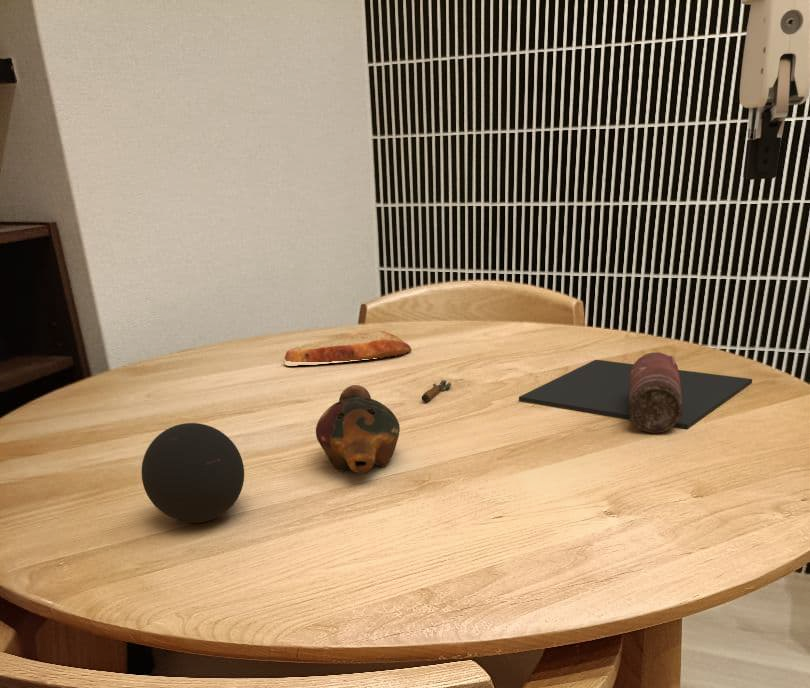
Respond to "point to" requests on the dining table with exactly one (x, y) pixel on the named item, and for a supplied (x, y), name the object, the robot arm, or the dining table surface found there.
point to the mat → (610, 387)
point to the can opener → (434, 390)
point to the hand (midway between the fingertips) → (759, 178)
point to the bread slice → (350, 348)
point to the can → (655, 393)
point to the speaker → (192, 472)
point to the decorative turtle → (358, 431)
